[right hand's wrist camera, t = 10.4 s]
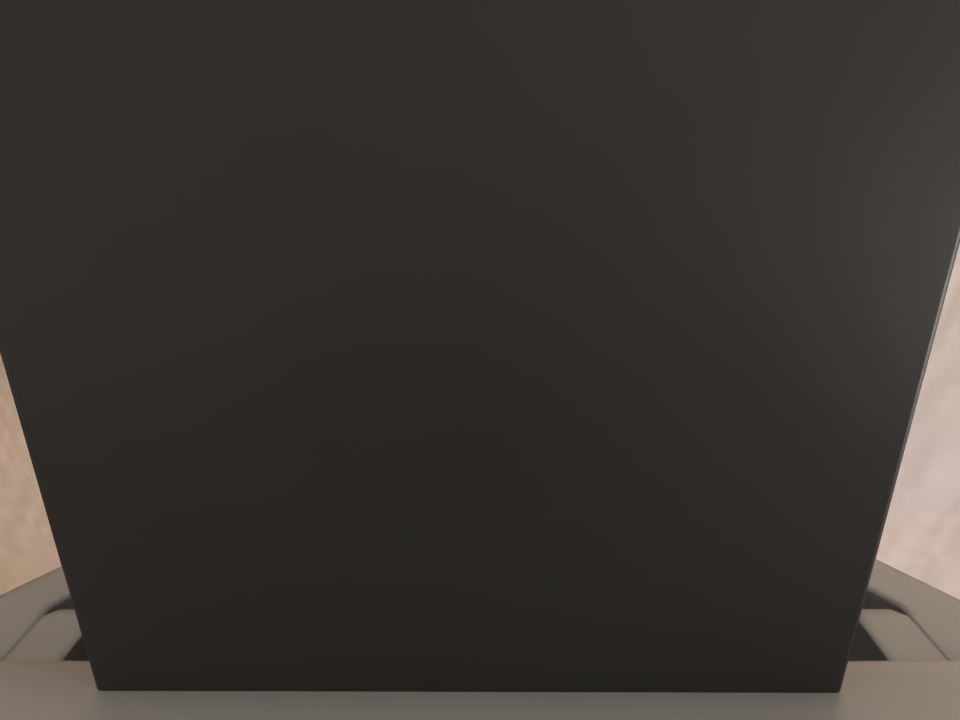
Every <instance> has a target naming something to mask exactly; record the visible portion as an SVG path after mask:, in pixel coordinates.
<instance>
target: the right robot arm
mask: <svg viewBox="0 0 960 720" xmlns="http://www.w3.org/2000/svg"><path fill="white" fill-rule="evenodd" d="M0 720H960V600H959V599H957V598H955V597H953V596H951V595H949V594H946V593H944V592H942V591H940V590H938V589H936V588H934V587H932V586H930V585H928V584H926V583H924V582H922V581H920V580H918V579H915V578H913V577H911V576H909V575H907V574H905V573H903V572H901V571H899V570H897V569H895V568H893V567H891V566H889V565H887V564H884V563H882V562H880V561H878V560H876V559H875V562H874V566H873V570H872V573H871V577H870V581H869V585H868V588H867V592H866V596H865V600H864V603H863V607H862V611H861V615H860V619H859V622H858V626H857V630H856V634H855V637H854V641H853V645H852V649H851V652H850V656H849V660H848V664H847V667H846V671H845V675H844V679H843V682H842V686H841V690H840V692H838V693H677V692H323V691H100V690H97V687H96V683H95V680H94V676H93V673H92V669H91V666H90V662H89V659H88V655H87V652H86V648H85V645H84V641H83V638H82V634H81V631H80V627H79V624H78V620H77V617H76V614H75V610H74V607H73V603H72V600H71V596H70V593H69V589H68V586H67V582H66V579H65V575H64V572H63V568H62V566H61V567H59V568H57V569H55V570H53V571H51V572H49V573H47V574H45V575H42V576H40V577H38V578H36V579H34V580H32V581H30V582H28V583H26V584H24V585H22V586H19V587H17V588H15V589H13V590H11V591H9V592H7V593H5V594H3V595H1V596H0Z"/></svg>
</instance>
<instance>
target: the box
mask: <svg viewBox="0 0 960 720" xmlns="http://www.w3.org/2000/svg"><path fill="white" fill-rule="evenodd" d="M959 243H960V0H0V353H1V356H2V360H3V363H4V367H5V370H6V374H7V377H8V381H9V384H10V388H11V391H12V394H13V398H14V401H15V405H16V408H17V412H18V415H19V419H20V422H21V426H22V429H23V433H24V436H25V440H26V443H27V447H28V450H29V454H30V457H31V461H32V464H33V467H34V471H35V474H36V478H37V481H38V485H39V488H40V492H41V495H42V499H43V502H44V506H45V509H46V513H47V516H48V520H49V523H50V527H51V530H52V534H53V537H54V541H55V544H56V547H57V551H58V554H59V558H60V561H61V565H62V568H63V572H64V575H65V579H66V582H67V586H68V589H69V593H70V596H71V600H72V603H73V607H74V610H75V614H76V617H77V620H78V624H79V627H80V631H81V634H82V638H83V641H84V645H85V648H86V652H87V655H88V659H89V662H90V666H91V669H92V673H93V676H94V680H95V683H96V687H97V690H100V691H323V692H677V693H838V692H840V690H841V686H842V682H843V679H844V675H845V671H846V667H847V664H848V660H849V656H850V652H851V649H852V645H853V641H854V637H855V634H856V630H857V626H858V622H859V619H860V615H861V611H862V607H863V603H864V600H865V596H866V592H867V588H868V585H869V581H870V577H871V573H872V570H873V566H874V562H875V558H876V555H877V551H878V547H879V543H880V540H881V536H882V532H883V528H884V525H885V521H886V517H887V513H888V510H889V506H890V502H891V498H892V495H893V491H894V487H895V483H896V479H897V476H898V472H899V468H900V464H901V461H902V457H903V453H904V449H905V446H906V442H907V438H908V434H909V431H910V427H911V423H912V419H913V416H914V412H915V408H916V404H917V401H918V397H919V393H920V389H921V386H922V382H923V378H924V374H925V371H926V367H927V363H928V359H929V355H930V352H931V348H932V344H933V340H934V337H935V333H936V329H937V325H938V322H939V318H940V314H941V310H942V307H943V303H944V299H945V295H946V292H947V288H948V284H949V280H950V277H951V273H952V269H953V265H954V262H955V258H956V254H957V250H958V247H959Z"/></svg>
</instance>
